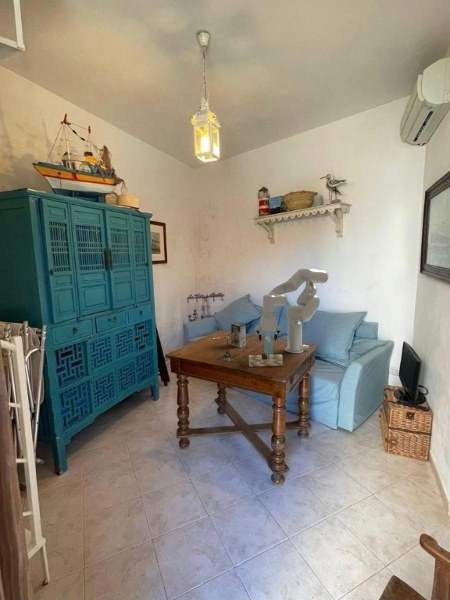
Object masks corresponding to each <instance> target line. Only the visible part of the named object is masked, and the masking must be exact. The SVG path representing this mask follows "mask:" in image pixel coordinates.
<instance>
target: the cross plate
mask: <svg viewBox="0 0 450 600" xmlns="http://www.w3.org/2000/svg"><path fill="white" fill-rule="evenodd" d="M269 355H274V342H273V340H272V338H271V337H270V336H264V356H265V357H266V359H269Z"/></svg>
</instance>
